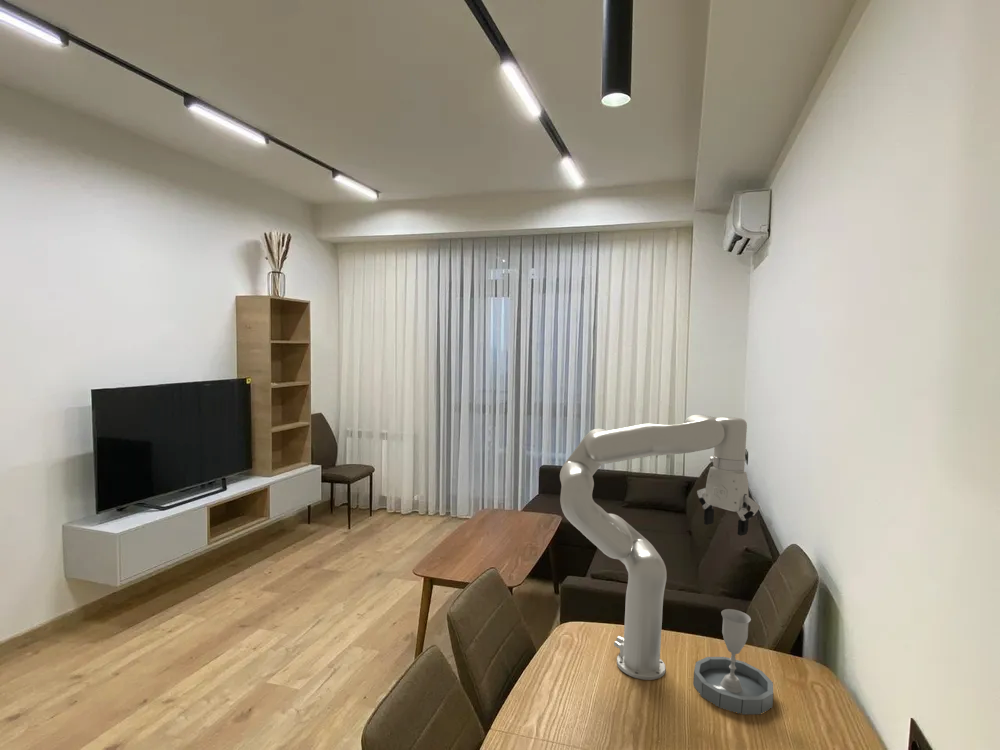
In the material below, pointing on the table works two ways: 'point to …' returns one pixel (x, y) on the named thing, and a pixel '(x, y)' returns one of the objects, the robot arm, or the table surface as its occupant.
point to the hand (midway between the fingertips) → (725, 529)
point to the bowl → (748, 701)
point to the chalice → (734, 643)
